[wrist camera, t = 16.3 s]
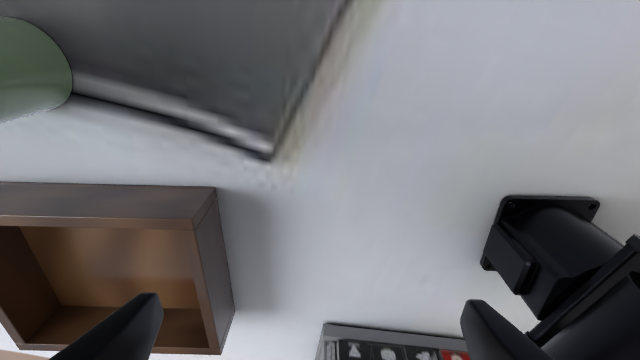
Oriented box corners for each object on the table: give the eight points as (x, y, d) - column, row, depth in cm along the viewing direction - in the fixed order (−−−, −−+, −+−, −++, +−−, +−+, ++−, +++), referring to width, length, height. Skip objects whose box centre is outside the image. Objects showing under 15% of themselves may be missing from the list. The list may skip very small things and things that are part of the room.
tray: (215, 186, 21) (192, 219, 17) (235, 311, 26) (221, 355, 23) (-8, 181, 21) (-78, 213, 17) (60, 306, 26) (19, 350, 23)
